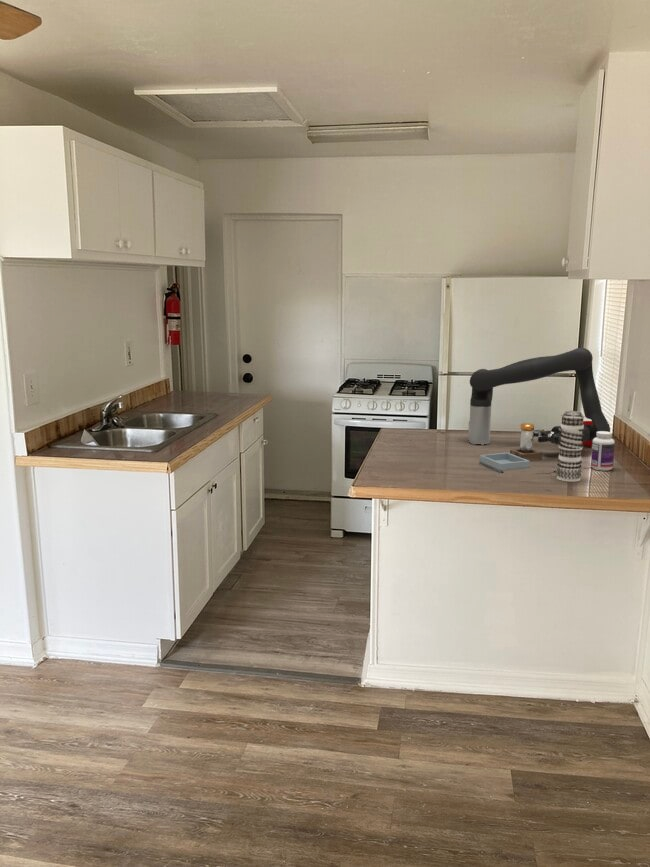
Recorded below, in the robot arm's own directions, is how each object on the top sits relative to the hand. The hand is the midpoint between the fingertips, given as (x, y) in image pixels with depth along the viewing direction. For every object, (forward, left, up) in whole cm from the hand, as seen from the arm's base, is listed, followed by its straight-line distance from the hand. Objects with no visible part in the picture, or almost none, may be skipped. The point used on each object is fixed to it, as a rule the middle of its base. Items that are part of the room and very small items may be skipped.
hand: (532, 437), depth 288 cm
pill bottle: (+21, +17, -10) cm, 29 cm away
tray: (+5, -16, -10) cm, 19 cm away
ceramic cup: (-12, +39, -10) cm, 42 cm away
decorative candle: (+28, -4, -10) cm, 30 cm away
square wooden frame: (0, -3, -10) cm, 10 cm away
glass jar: (0, -3, -9) cm, 9 cm away
